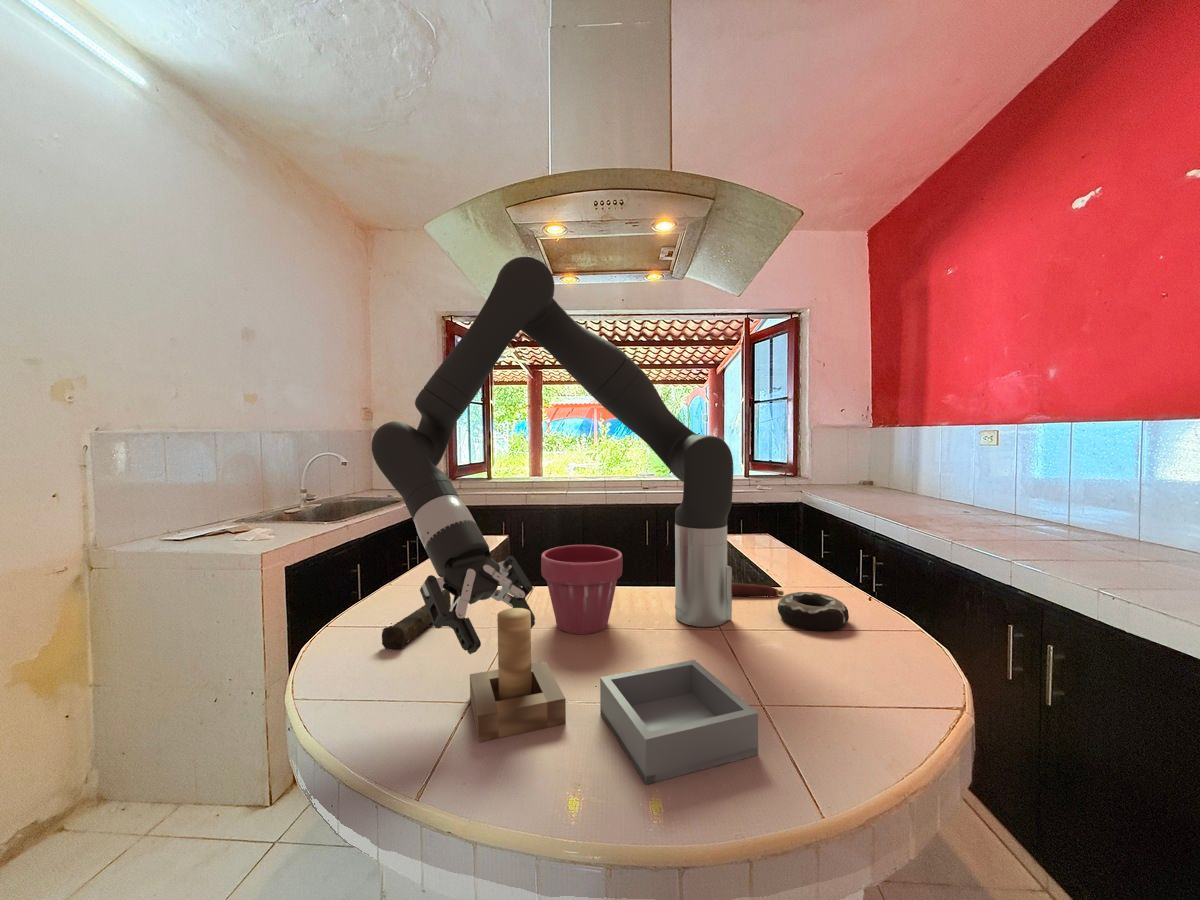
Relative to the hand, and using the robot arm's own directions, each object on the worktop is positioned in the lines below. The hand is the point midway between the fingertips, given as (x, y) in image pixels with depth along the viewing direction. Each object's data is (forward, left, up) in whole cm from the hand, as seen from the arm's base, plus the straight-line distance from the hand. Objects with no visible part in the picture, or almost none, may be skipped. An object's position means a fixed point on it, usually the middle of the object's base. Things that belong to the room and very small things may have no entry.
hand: (504, 638), depth 63 cm
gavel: (-51, -25, -9) cm, 57 cm away
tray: (-17, +13, -8) cm, 23 cm away
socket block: (-1, +2, -8) cm, 9 cm away
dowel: (-1, +2, -8) cm, 9 cm away
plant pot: (-17, -21, -9) cm, 29 cm away
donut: (-56, -8, -9) cm, 57 cm away
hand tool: (+10, -30, -9) cm, 33 cm away
